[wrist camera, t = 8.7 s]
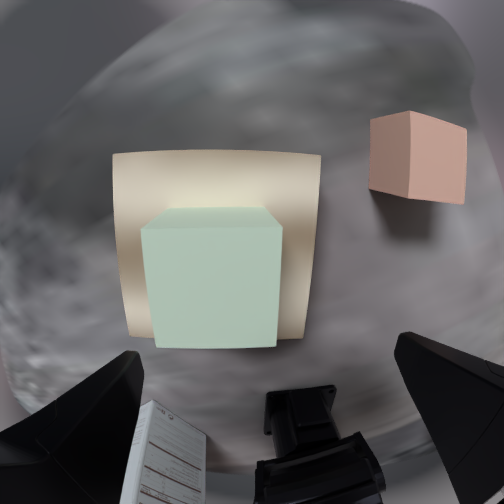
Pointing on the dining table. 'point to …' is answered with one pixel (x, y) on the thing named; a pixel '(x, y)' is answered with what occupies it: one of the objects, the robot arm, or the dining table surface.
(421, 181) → the clay cube
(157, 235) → the sage cube
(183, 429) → the supplement box
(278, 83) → the dining table surface
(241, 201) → the birch block
